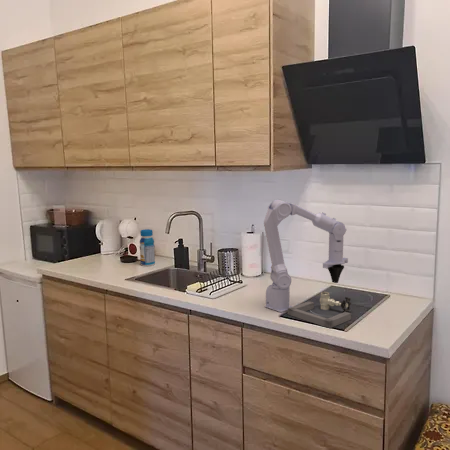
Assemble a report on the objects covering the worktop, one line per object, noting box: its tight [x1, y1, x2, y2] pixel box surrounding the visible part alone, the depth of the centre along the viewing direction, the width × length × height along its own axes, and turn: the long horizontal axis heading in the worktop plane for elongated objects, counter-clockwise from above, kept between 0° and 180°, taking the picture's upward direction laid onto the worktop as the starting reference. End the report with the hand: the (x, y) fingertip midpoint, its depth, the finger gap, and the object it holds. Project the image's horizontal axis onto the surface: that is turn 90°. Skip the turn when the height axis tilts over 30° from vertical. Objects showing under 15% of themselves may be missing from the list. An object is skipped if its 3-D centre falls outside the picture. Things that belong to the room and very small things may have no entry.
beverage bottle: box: [139, 228, 156, 267], centre depth 268 cm, size 8×8×20 cm
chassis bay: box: [287, 300, 352, 329], centre depth 181 cm, size 20×13×2 cm, turn 41°
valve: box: [319, 291, 352, 313], centre depth 188 cm, size 7×7×12 cm
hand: (335, 282), depth 194 cm, fingers closed
